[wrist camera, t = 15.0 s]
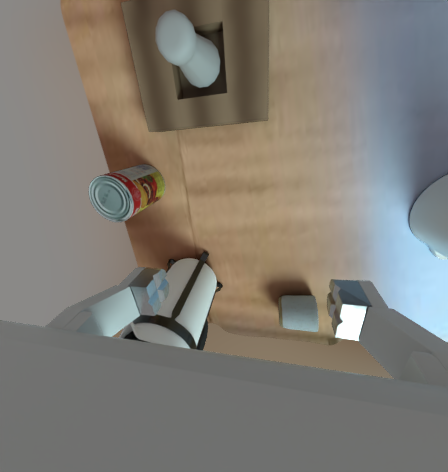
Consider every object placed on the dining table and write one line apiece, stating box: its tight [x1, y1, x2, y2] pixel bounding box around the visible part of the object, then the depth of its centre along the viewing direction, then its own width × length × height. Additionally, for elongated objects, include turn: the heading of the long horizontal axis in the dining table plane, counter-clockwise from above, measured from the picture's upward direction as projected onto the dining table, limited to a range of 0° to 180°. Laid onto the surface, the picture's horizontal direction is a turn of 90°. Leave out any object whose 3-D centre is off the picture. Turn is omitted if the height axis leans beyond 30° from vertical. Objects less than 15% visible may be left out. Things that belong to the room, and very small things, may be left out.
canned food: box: [89, 165, 165, 222], centre depth 39 cm, size 8×8×12 cm
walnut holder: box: [121, 0, 269, 132], centre depth 32 cm, size 20×16×4 cm
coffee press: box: [119, 252, 223, 350], centre depth 40 cm, size 17×16×30 cm
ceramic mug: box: [279, 295, 318, 332], centre depth 48 cm, size 11×8×8 cm
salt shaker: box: [155, 10, 220, 88], centre depth 27 cm, size 6×6×13 cm
